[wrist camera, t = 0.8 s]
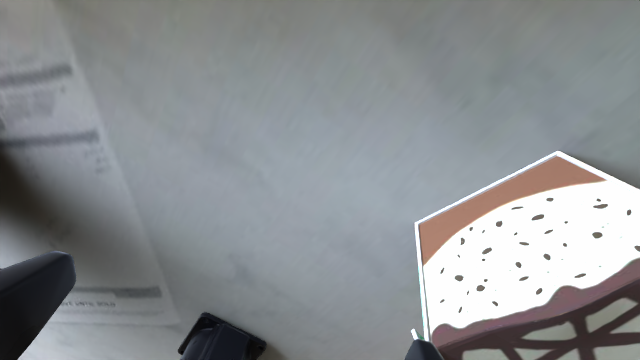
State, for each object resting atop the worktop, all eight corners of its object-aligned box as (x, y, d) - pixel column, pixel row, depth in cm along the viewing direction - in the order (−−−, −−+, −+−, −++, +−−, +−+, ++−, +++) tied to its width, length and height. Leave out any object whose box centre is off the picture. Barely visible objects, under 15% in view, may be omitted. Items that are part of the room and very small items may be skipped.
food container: (438, 289, 25) (482, 443, 16) (395, 232, 23) (417, 371, 14) (620, 214, 20) (823, 368, 11) (585, 136, 18) (795, 248, 10)
